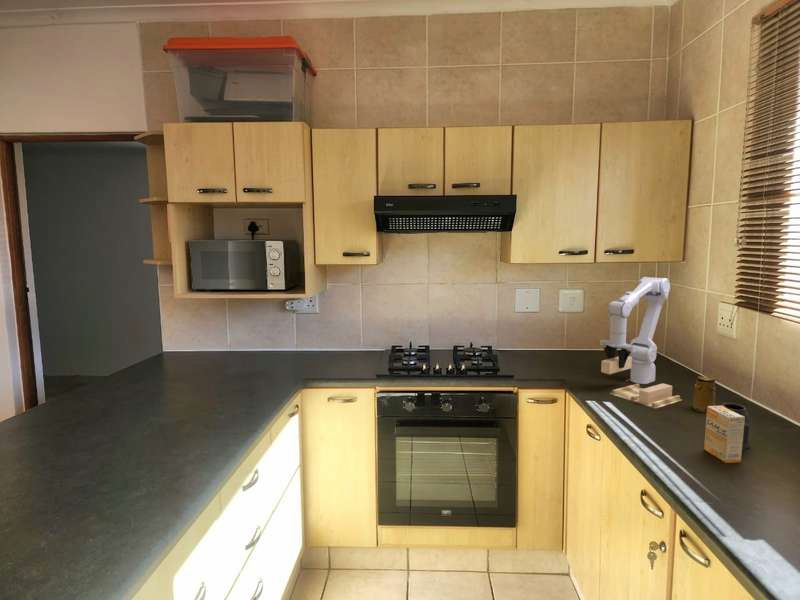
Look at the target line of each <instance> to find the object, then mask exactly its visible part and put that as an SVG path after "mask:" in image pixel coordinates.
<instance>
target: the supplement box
mask: <svg viewBox="0 0 800 600" xmlns="http://www.w3.org/2000/svg"><path fill="white" fill-rule="evenodd" d="M744 421H745V417H744V416H742V415H740V414H738V413H736V412H734V411H732V410H730V409H727V408H725V407H724V406H722V405H715V406H708V407H707V413H706V419H705V430H704V431H705V432H704V434H705V435H704V445H703V446H704V447H703V449H704V451H705V450H706V452H707V453H709V454H711V455H712V456H714V457H716V458H717V459H719V460H721V461H722V462H723V463H725V464H734V463H741V462H742V452H743V450H742V443H743V432H744Z"/></svg>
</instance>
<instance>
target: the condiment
mask: <svg viewBox="0 0 800 600" xmlns="http://www.w3.org/2000/svg"><path fill="white" fill-rule="evenodd" d="M715 382H716V380H715V378H713V377H710V376H702V375H701V376H700V375H699V376H697V377H696V382H695V383H696V384H695V385H694V391H693V392H694V394H693V406H692V407H693V409H694V410H695V411H697V412H701V413H706V414H707V407H708V406H716V386H715V385H716V383H715Z"/></svg>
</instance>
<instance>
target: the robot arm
mask: <svg viewBox="0 0 800 600" xmlns="http://www.w3.org/2000/svg"><path fill="white" fill-rule="evenodd" d="M670 290H671V284H670V280H669V279H668V278H667V277H649V276H643V277H642V278H641V279H639V282H638V285H637V286H636V287H635V288H634V290H632V291H626V292H625V294H623V295H622V296H621V297H620V298H619V299H617V300H613V301H611V302H610V303H608V305H607V308H606V309H607V314H608V319H609V321H610V325H609V339H608V340H607V339H600V341H599V346H605V347H603V350H604V352H605V354H606V356H607V359H611V358H615V357H616V354H617V357H619V368H624V366H625V363H626V360H627V358H628V356H629V357H632V367H631V368H630V375H629V376H630V378H629V381H630V382H631V383H634V384H643V385H645V384H650V383H653V382H655V381H656V365H655V363H654V362H655V360H656V358H657V350H658V346H657V344H656V343H655V342H654V341H653V339H654V334H655V331H656V329H657V324H658V321H659V317H660V314H661V311H662V308H663V305H664V301H666V300H668V299H667V298H668V296H669V294H670V293H669V292H670ZM642 297H644V298H645V299H647V300H648V304H647V307H646V310H645V314H644V315H643V316H644V317H643V320H642V323H641V327H640V330H639V332H638V333H639V334H638V336H637V337H635V338H632V339H631V340H630V343H629V344H628V343H627V342H626V341H627V323H628V321H627V320H628V317H629V316H630V314H631V312H632V310H633V308H634V307H635V306H637V305H638V303H640V298H642ZM618 349H619V350H618ZM625 382H628V379H627V380H625Z"/></svg>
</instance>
